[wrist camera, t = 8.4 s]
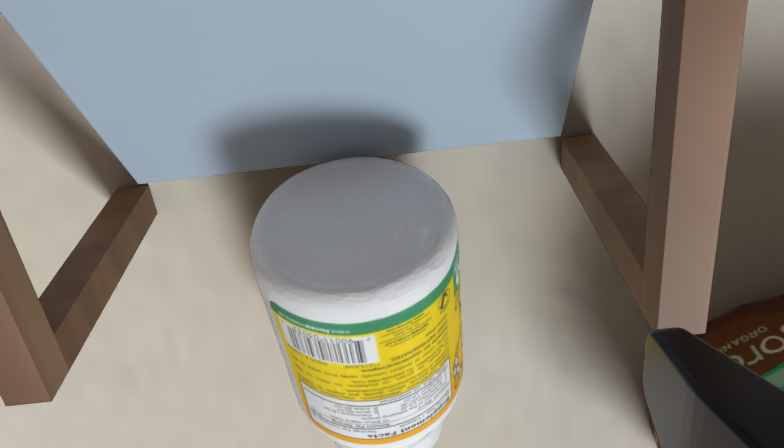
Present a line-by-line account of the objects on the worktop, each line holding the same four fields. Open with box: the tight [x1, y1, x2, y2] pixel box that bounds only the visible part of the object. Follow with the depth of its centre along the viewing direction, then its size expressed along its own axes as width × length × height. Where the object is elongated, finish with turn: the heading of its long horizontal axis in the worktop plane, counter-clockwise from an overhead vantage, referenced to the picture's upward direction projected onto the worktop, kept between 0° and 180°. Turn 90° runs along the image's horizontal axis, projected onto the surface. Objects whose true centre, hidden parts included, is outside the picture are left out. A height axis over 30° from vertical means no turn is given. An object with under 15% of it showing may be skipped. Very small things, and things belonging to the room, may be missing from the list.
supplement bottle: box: [249, 157, 463, 448], centre depth 21 cm, size 5×5×10 cm
